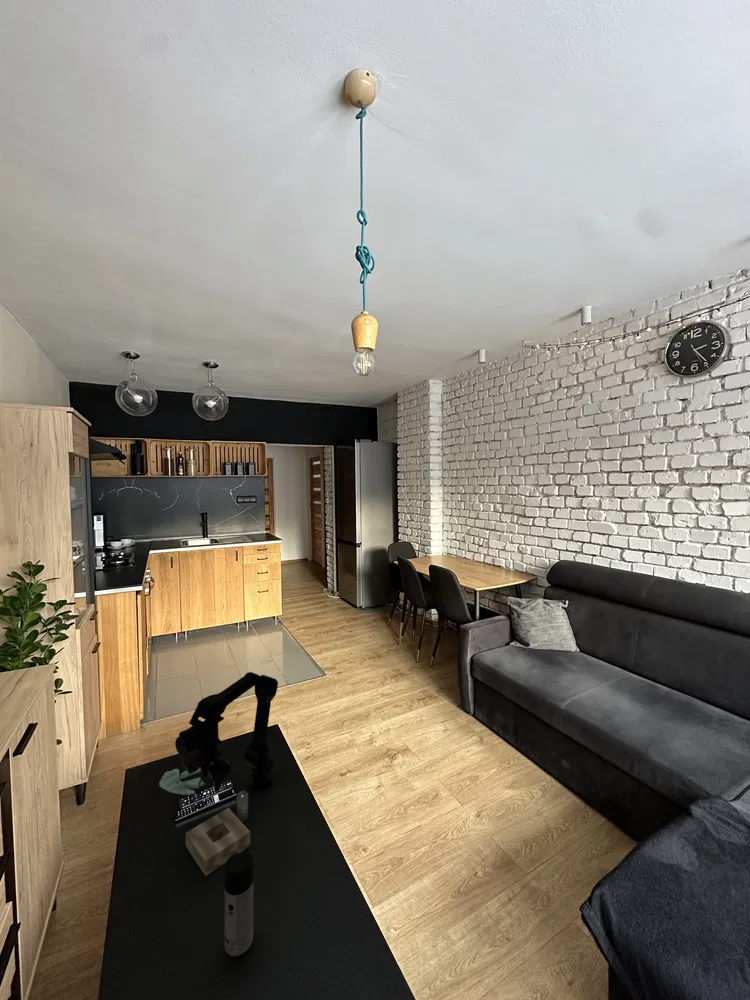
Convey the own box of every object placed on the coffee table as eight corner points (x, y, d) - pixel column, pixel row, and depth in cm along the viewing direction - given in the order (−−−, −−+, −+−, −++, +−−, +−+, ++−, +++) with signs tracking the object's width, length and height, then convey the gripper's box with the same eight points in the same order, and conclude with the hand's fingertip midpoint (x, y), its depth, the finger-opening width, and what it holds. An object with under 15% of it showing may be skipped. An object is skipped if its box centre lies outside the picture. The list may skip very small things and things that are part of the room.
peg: (244, 811, 143) (244, 789, 143) (250, 817, 140) (249, 794, 140) (235, 817, 140) (235, 794, 140) (240, 823, 138) (240, 799, 138)
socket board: (228, 821, 139) (228, 807, 139) (250, 845, 129) (250, 831, 129) (185, 847, 129) (185, 832, 129) (205, 876, 119) (205, 860, 119)
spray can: (228, 929, 105) (228, 851, 104) (256, 926, 105) (255, 849, 105) (221, 958, 98) (220, 875, 98) (250, 956, 99) (250, 873, 98)
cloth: (158, 773, 163) (158, 766, 163) (218, 758, 173) (218, 752, 172) (155, 809, 145) (155, 802, 145) (222, 790, 154) (222, 783, 154)
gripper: (173, 736, 138) (175, 782, 139) (196, 763, 125) (197, 813, 126) (206, 722, 146) (208, 766, 147) (231, 746, 133) (232, 793, 134)
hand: (210, 784), depth 138 cm, fingers open, 9 cm apart
